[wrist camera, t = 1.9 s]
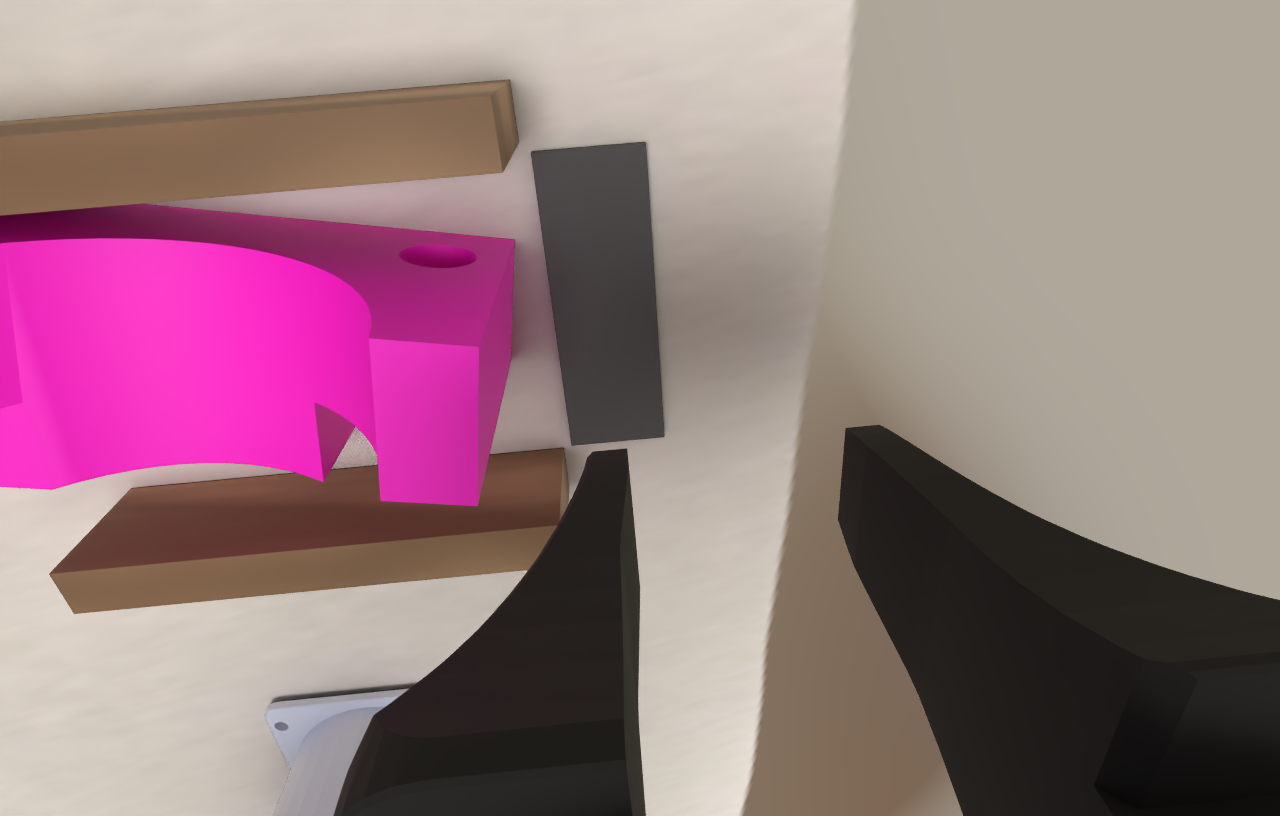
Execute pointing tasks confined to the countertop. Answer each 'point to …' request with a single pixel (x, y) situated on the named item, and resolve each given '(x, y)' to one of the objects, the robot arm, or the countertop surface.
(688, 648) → the countertop surface
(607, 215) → the pit pad
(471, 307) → the toy block
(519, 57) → the countertop surface
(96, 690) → the countertop surface
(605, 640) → the robot arm
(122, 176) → the channel
